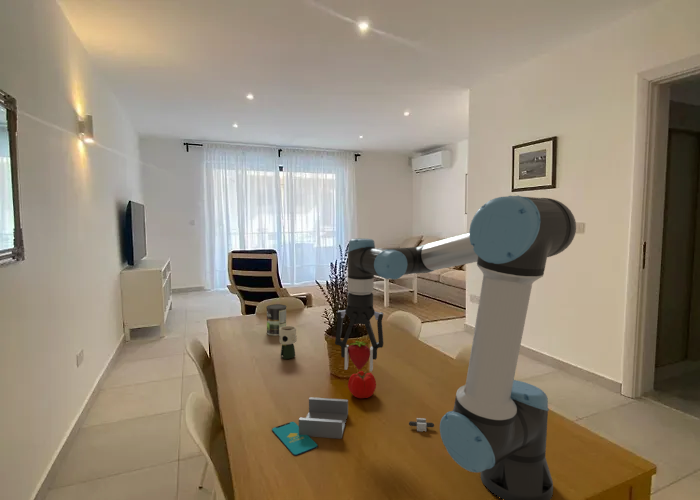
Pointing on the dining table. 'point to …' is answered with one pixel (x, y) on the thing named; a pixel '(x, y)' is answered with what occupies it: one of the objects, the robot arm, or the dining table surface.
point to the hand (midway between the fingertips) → (358, 368)
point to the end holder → (324, 418)
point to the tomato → (362, 384)
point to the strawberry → (359, 354)
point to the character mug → (287, 341)
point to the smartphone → (294, 438)
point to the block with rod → (421, 424)
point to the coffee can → (275, 318)
